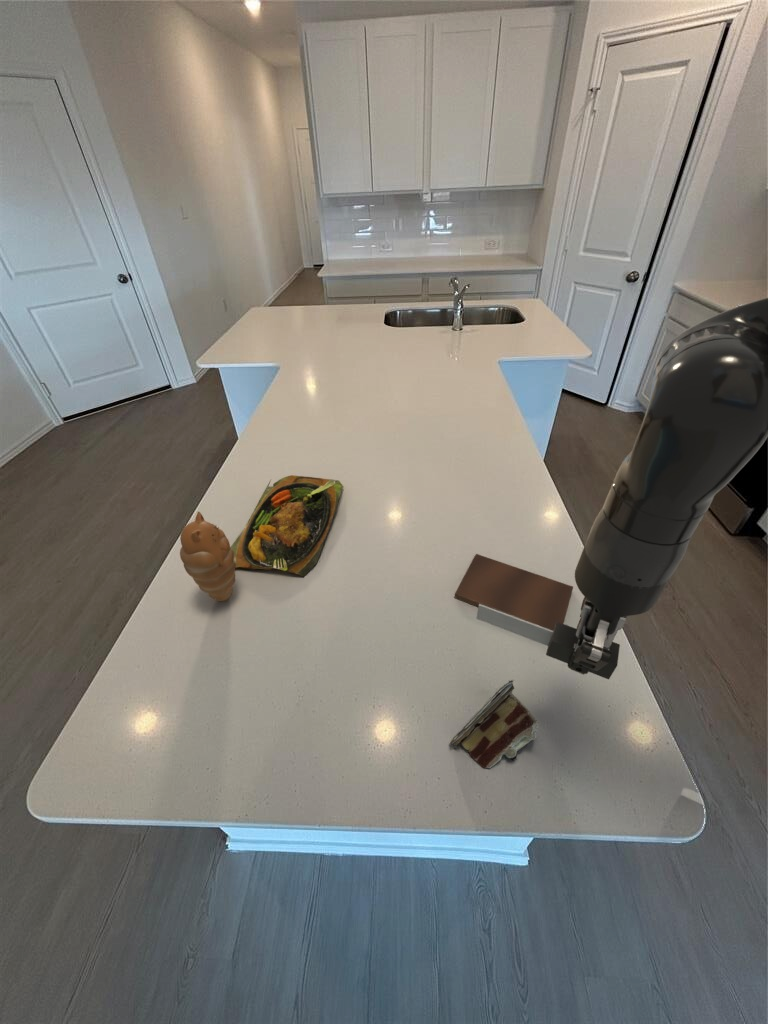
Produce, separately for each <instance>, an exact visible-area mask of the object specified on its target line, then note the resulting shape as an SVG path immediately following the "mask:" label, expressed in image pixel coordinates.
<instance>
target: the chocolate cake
mask: <svg viewBox="0 0 768 1024" xmlns="http://www.w3.org/2000/svg"><path fill="white" fill-rule="evenodd" d="M514 681H515V679H511V680H508V681H507V682H506V683H504V684H503V685H502V686H500V687H499V689H497V690H496V691H495V692H494V693H493V695H492V696H491V697H490V698H489V699H488V701H486V702H485V703H484V704H483V706H482V707H481V708H480V709H479V710H478V711H476V713H475V714H474V715H473V716H472V717H471V718H470V720H469V721H468V722H467V723H466V724H465V725H464V726H463V727H462V728H461V729H460V730H459V731H458V732H457V733H456V734H455V735H454V736H453V737H452V739H451V740H450V741H449V744H453V746H455V747H456V746H457V747H458V745H459V744H461V745H462V747H463V748H464V750H467V751H468V752H469V754H470V756H471V757H472V758H473V759H474V760H475V761H476V762H478V764H479V765H480V766H481V767H482V768H483V769H491V768H492V767H493V766H495V765H496V764H498V763H499V762H500V761H501V759H502V757H503V756H505V758H507V759H510V760H511V761H515V760H517V759H518V756H517V752H518V751H519V750H521V749H522V748H524V746H526V745H527V744H529V743H530V742H531V741H534V740H536V737H537V736H538V734H537V732H536V731H535V730H537V729H538V727H539V722H538V720H537V718H535V716H534V715H533V713H531V710H529V709H528V708H527V707H526V706H525V705H524V704H523V703H522V702H521V701H520V700H519V699H518V698H517V696H515V695H514V694H513V691H514V689H515V686H514V684H513V683H514Z"/></svg>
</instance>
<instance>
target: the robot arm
mask: <svg viewBox="0 0 768 1024" xmlns="http://www.w3.org/2000/svg"><path fill="white" fill-rule="evenodd" d="M642 419H643V420H642V422H641V425H640V428H639V430H638V434H637V436H636V438H635V442H634V444H633V447H632V449H631V451H630V452H629V453H627V455H626V456H625V457H624V459H622V462H621V464H620V465H619V467H618V469H617V471H616V473H615V475H614V478H613V481H612V483H611V486H610V488H609V491H608V494H607V496H606V499H605V501H604V503H603V505H602V507H601V509H600V511H599V512H598V514H597V515H596V517H595V519H594V521H593V523H592V525H591V528H590V531H589V533H588V536H587V539H586V541H585V544H584V547H583V549H582V552H581V554H580V557H579V559H578V562H577V564H576V567H575V569H574V581H575V584H576V587H577V589H578V590H579V591H580V593H581V595H583V596H584V597H583V599H582V602H581V607H580V615H579V621H578V623H577V626H576V629H577V630H576V637H577V638H578V639H577V641H576V644H574V646H573V648H574V650H573V652H572V654H571V656H570V659H569V661H568V663H567V668H568V669H570V670H571V671H573V672H576V673H579V674H582V675H587V674H588V673H590V672H589V670H590V669H593V670H596V671H598V670H599V669H601V668H602V667H604V666H605V665H606V664H608V663H609V661H611V659H612V655H611V654H612V651H610V649H609V647H610V646H611V644H612V642H614V640H615V637H616V635H617V633H618V631H620V630H622V629H623V627H624V626H625V623H626V621H627V617H630V616H638V615H641V614H645V613H646V612H648V611H650V610H651V609H652V608H653V607H654V606H655V605H656V603H657V601H658V600H659V598H660V596H661V595H662V593H663V591H664V590H665V588H666V586H667V585H668V584H669V582H670V580H671V578H672V577H673V575H674V573H676V570H677V568H678V567H679V565H680V564H681V562H682V560H683V559H684V556H685V554H686V552H687V550H688V546H689V544H690V541H691V539H692V537H693V535H694V533H695V532H696V530H697V528H698V526H699V525H700V523H701V522H702V520H703V518H704V516H705V515H706V513H707V512H708V510H709V509H710V506H711V504H712V502H713V500H714V498H715V496H716V494H719V492H720V491H721V490H722V489H723V488H725V487H726V486H727V485H728V484H729V483H730V482H731V481H732V480H733V479H734V478H735V476H736V475H737V474H738V473H739V472H740V471H741V470H742V469H743V468H744V467H745V466H746V465H747V464H748V463H749V462H750V461H751V460H752V458H753V457H754V456H755V455H756V454H757V452H758V451H759V450H760V449H761V447H762V446H763V445H764V443H765V442H766V441H767V439H768V297H766V298H762V299H759V300H755V301H751V302H748V303H746V304H742V305H739V306H736V307H733V308H731V309H728V310H725V311H722V312H720V313H717V314H714V315H712V316H710V317H708V318H706V319H703V320H701V321H699V322H697V323H695V324H693V325H691V326H690V327H688V328H686V329H685V330H683V331H682V332H680V333H679V334H678V335H676V336H675V337H674V338H673V339H671V340H670V342H668V343H667V345H666V346H665V347H664V348H663V349H662V351H661V353H660V354H659V356H658V357H657V359H656V361H655V365H654V368H653V373H652V382H651V389H650V397H649V400H648V403H647V406H646V410H645V413H644V416H643V418H642Z"/></svg>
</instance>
